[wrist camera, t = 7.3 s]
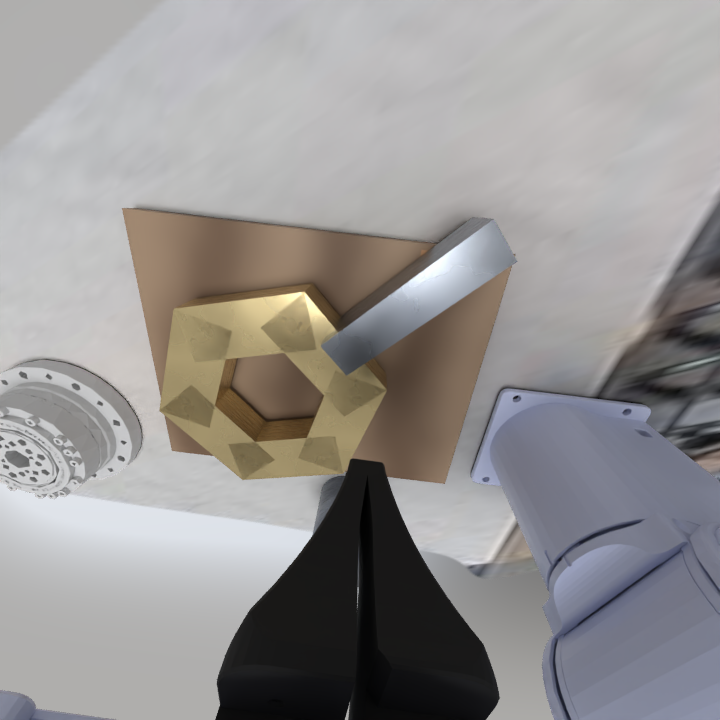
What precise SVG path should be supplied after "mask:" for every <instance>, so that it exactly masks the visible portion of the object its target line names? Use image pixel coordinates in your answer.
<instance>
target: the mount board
mask: <svg viewBox="0 0 720 720" xmlns="http://www.w3.org/2000/svg"><path fill="white" fill-rule="evenodd" d="M122 210H123V215H124V220H125V225H126V230H127V234H128V239H129V244H130V249H131V254H132V259H133V264H134V268H135V273H136V278H137V283H138V288H139V293H140V298H141V302H142V307H143V312H144V317H145V322H146V327H147V332H148V336H149V341H150V346H151V351H152V356H153V361H154V366H155V371H156V375H157V380H158V385H159V390H160V395H161V396H162V389H163V382H164V375H165V367H166V360H167V353H168V346H169V339H170V331H171V324H172V317H173V310H174V308H176V307H178V306H180V305H182V304H184V303H187V302H189V301H191V300H193V299H195V298H202V297H210V296H218V295H225V294H233V293H240V292H248V291H256V290H263V289H271V288H279V287H286V286H294V285H301V284H309V283H313V285H314V286H315V287H316V288H317V289H318V291H319V292H320V293H321V294H322V295H323V297H324V298H325V299H326V300H327V302H328V303H329V304H330V305H331V306H332V308H333V309H334V310H335V311H336V312H337V314H338V315H339V316H340V317H341V316H342V315H344V314H345V313H346V312H348V311H349V310H350V309H352V308H353V307H354V306H356V305H357V304H358V303H360V302H361V301H362V300H364V299H365V298H366V297H368V296H369V295H370V294H372V293H373V292H374V291H376V290H377V289H378V288H380V287H381V286H382V285H384V284H385V283H386V282H388V281H389V280H390V279H392V278H393V277H394V276H396V275H397V274H398V273H400V272H401V271H402V270H404V269H405V268H406V267H408V266H409V265H410V264H412V263H413V262H414V261H415V260H417V259H418V258H419V257H421V256H422V255H423V254H425V253H426V252H427V251H429V250H430V249H431V248H433V247H434V246H435V245H437V244H435V243H427V242H418V241H410V240H401V239H393V238H384V237H376V236H367V235H359V234H350V233H342V232H333V231H325V230H316V229H308V228H299V227H291V226H282V225H274V224H265V223H257V222H248V221H240V220H231V219H223V218H214V217H206V216H197V215H189V214H180V213H172V212H163V211H155V210H146V209H138V208H122ZM513 255H514V256H515V254H513ZM511 267H512V265H511V266H510V267H508V268H507V269H505V270H504V271H502V272H501V273H499V274H498V275H496V276H495V277H493V278H492V279H490V280H489V281H487V282H486V283H484V284H483V285H481V286H480V287H478V288H477V289H475V290H474V291H472V292H471V293H470V294H468V295H467V296H465V297H464V298H462V299H461V300H459V301H458V302H456V303H455V304H453V305H452V306H450V307H449V308H447V309H446V310H444V311H443V312H441V313H440V314H438V315H437V316H435V317H434V318H432V319H431V320H429V321H428V322H426V323H425V324H423V325H422V326H420V327H419V328H417V329H416V330H414V331H413V332H411V333H410V334H408V335H407V336H405V337H404V338H402V339H401V340H399V341H398V342H396V343H395V344H393V345H392V346H391V347H389V348H388V349H386V350H385V351H383V352H382V353H380V354H379V355H377V356H376V357H374V359H375V360H376V361H377V362H378V363H379V365H380V366H381V367H382V368H383V369H384V371H385V372H386V377H387V391H386V393H385V395H384V397H383V399H382V401H381V403H380V405H379V407H378V408H377V410H376V412H375V414H374V416H373V418H372V420H371V422H370V424H369V426H368V428H367V429H366V431H365V433H364V435H363V437H362V439H361V441H360V443H359V445H358V447H357V449H356V450H355V452H354V454H353V456H352V458H355V459H362V460H369V461H376V462H382V463H383V464H384V466H385V471H386V475H387V477H393V478H401V479H410V480H418V481H426V482H435V483H443V484H445V481H446V478H447V474H448V471H449V468H450V465H451V461H452V458H453V455H454V452H455V449H456V445H457V442H458V439H459V436H460V432H461V429H462V426H463V423H464V419H465V416H466V413H467V410H468V407H469V403H470V400H471V397H472V394H473V390H474V387H475V384H476V381H477V377H478V374H479V371H480V368H481V364H482V361H483V358H484V355H485V352H486V348H487V345H488V342H489V339H490V335H491V332H492V329H493V326H494V322H495V319H496V316H497V313H498V309H499V306H500V303H501V300H502V297H503V293H504V290H505V287H506V284H507V280H508V277H509V274H510V271H511ZM230 389H231V390H232V391H234V392H235V393H236V394H237V395H238V396H239V397H240V398H241V399H242V400H243V401H244V402H245V403H246V404H247V405H248V406H250V407H251V408H252V409H253V410H254V411H255V412H256V413H257V414H258V415H259V416H260V417H261V418H262V419H263V420H264V421H266V422H270V421H282V420H294V419H306V418H313V417H314V415H315V412H316V410H317V407H318V405H319V403H320V400H321V398H322V396H323V394H322V393H321V392H320V391H319V389H318V388H317V387H316V386H315V385H314V384H313V383H312V382H311V381H310V380H309V379H308V378H307V377H306V376H305V375H304V374H303V372H302V371H301V370H300V369H299V368H298V367H297V366H296V365H295V364H294V363H293V362H292V361H291V360H290V359H289V358H288V357H287V355H286V354H285V353H280V354H270V355H261V356H252V357H242V358H237V361H236V365H235V369H234V373H233V377H232V381H231V385H230ZM165 419H166V424H167V429H168V434H169V439H170V443H171V448H172V451H178V452H186V453H194V454H203V455H211V456H213V455H212V454H211V453H210V452H209V451H207V450H206V449H205V448H204V447H203V446H201V445H200V444H199V443H198V442H197V441H195V440H194V439H193V438H192V437H191V436H189V435H188V434H187V433H186V432H184V431H183V430H182V429H181V428H180V427H178V426H177V425H176V424H175V423H174V422H172V421H171V420H170V419H169V418H168V417H166V416H165ZM352 458H351V459H352ZM348 466H349V464H348ZM348 466H347V468H346V470H345V471H344V472H347V470H348Z"/></svg>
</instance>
